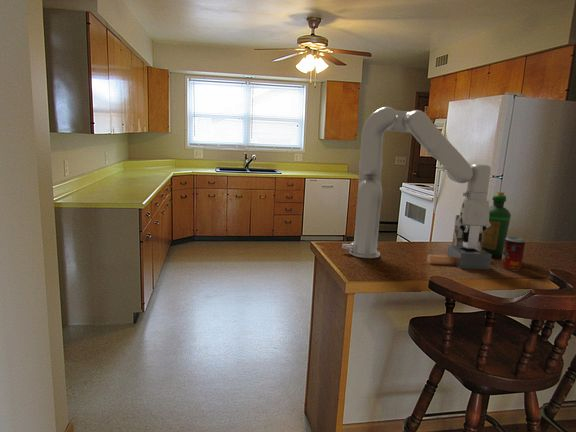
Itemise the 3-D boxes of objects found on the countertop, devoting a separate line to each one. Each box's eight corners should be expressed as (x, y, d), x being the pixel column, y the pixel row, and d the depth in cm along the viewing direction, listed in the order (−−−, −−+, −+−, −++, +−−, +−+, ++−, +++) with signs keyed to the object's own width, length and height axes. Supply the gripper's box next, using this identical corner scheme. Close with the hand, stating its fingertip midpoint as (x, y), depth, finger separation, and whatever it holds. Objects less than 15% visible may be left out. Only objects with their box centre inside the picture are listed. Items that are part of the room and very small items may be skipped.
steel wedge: (467, 248, 164) (470, 223, 162) (462, 245, 168) (465, 221, 166) (477, 248, 164) (480, 223, 162) (472, 246, 168) (475, 221, 166)
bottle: (474, 251, 189) (483, 190, 184) (499, 253, 188) (508, 191, 183) (482, 257, 179) (491, 192, 174) (508, 259, 178) (518, 194, 173)
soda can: (497, 265, 168) (501, 235, 166) (514, 266, 168) (519, 236, 166) (506, 270, 161) (511, 239, 159) (524, 271, 161) (529, 240, 159)
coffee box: (470, 255, 182) (475, 218, 179) (454, 253, 183) (459, 217, 180) (465, 250, 191) (470, 215, 188) (451, 248, 192) (455, 214, 189)
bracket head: (433, 267, 161) (435, 252, 160) (422, 258, 173) (424, 244, 171) (489, 269, 162) (491, 254, 160) (475, 260, 173) (477, 246, 172)
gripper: (459, 196, 158) (453, 243, 162) (502, 198, 159) (496, 245, 162) (451, 194, 166) (445, 238, 169) (492, 196, 166) (486, 240, 170)
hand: (470, 241), depth 166 cm, fingers closed on steel wedge, 4 cm apart
